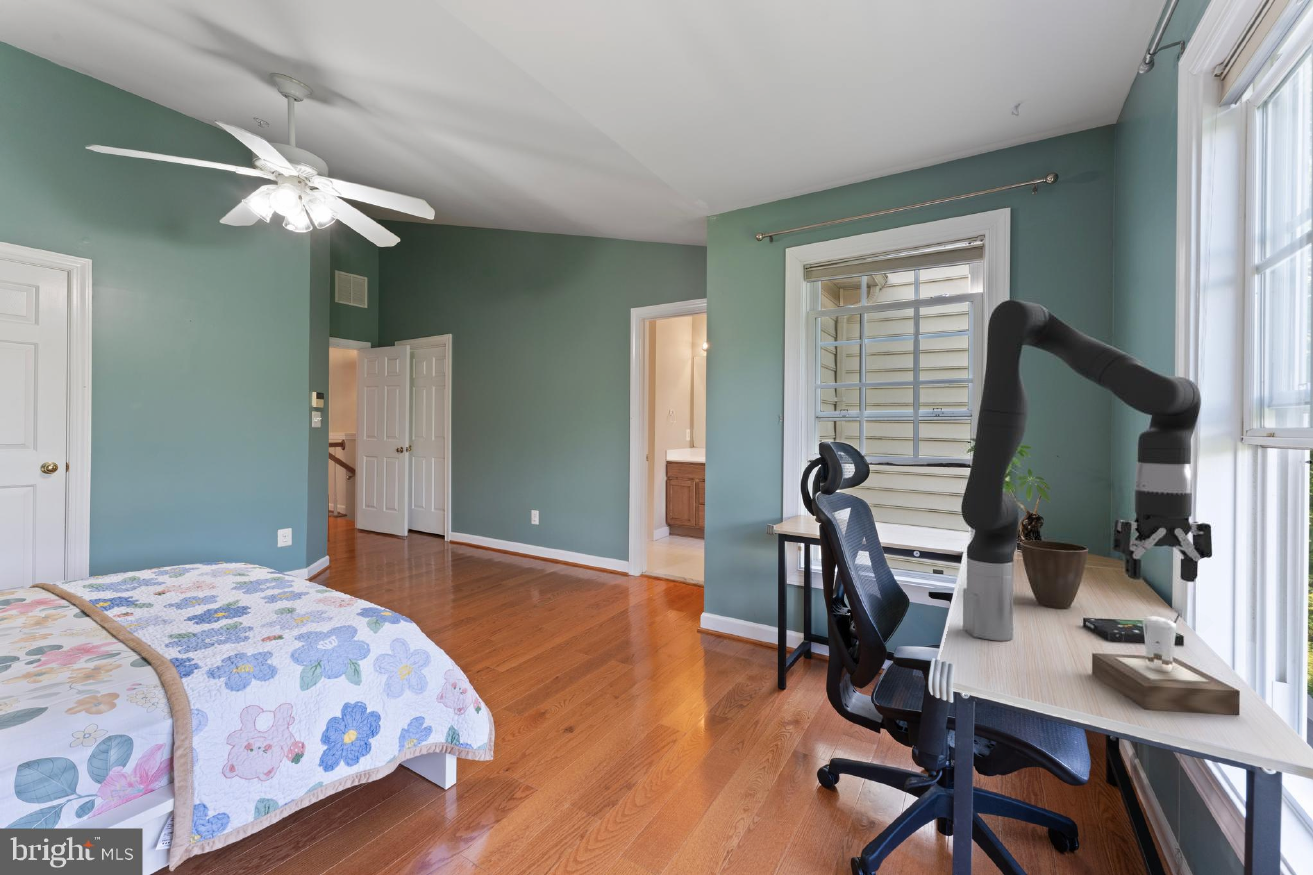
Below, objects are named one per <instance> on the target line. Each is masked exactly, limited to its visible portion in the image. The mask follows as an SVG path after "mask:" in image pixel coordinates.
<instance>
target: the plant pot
mask: <svg viewBox="0 0 1313 875" xmlns="http://www.w3.org/2000/svg"><path fill="white" fill-rule="evenodd" d="M1019 545H1020V551H1021V556H1022V561H1023V566H1024V569H1025V574H1026V577H1027V580H1028V583H1029V586H1030V589H1031V592H1032V593H1033V596H1034V599H1035V600H1036V603H1037V604H1039V605H1040V606H1044V607H1047V608H1053V609H1063V610H1064V609H1070V608H1071V606H1072V604H1073V603H1074V600H1075V598H1076V596H1077V594H1078V591H1079V589H1080V585H1081V582H1082V581H1083V580H1082V579H1083V576H1084V573H1085V569H1086V564H1087V560H1088V552H1089V548H1088V547H1086V546H1084V545H1082V544H1080V545H1079V544H1075V543H1069V542H1061V541H1051V540H1023V541H1020V544H1019Z"/></svg>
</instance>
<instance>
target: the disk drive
mask: <svg viewBox="0 0 1313 875" xmlns="http://www.w3.org/2000/svg"><path fill="white" fill-rule="evenodd" d="M1082 627H1083V628H1085V629H1086V630H1089V631H1090V632H1091V633H1093V634H1095V635H1097V636H1099V637H1100V638H1102V639H1103V640H1106V641H1107V642H1109V643H1124V644H1125V643H1126V644H1140V645H1141V644H1143V645H1145V638H1144V630H1143V619H1142V620H1138V619H1118V618H1117V619H1116V618H1096V617H1082ZM1174 646H1180V647H1184V646H1185V635H1182V634H1181V633H1178V632H1176V636H1175V643H1174Z"/></svg>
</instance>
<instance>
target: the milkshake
mask: <svg viewBox="0 0 1313 875" xmlns="http://www.w3.org/2000/svg"><path fill="white" fill-rule="evenodd" d="M1180 616H1181V613H1178V614H1177V616H1176V618H1175V620H1174V621H1172V620H1170V619H1167V618H1165V617H1161V616H1160V617H1159V616H1156V615H1155V616H1154V615H1152V616H1146V617H1143V619H1142V621H1143V630H1144V638H1145V644H1144V646H1145V647H1144V648H1145V656H1146V662H1147V666H1148V668H1150V669H1153V670H1156V671H1160V672H1171V671H1172V662H1173V657H1174V654H1175V653H1174V652H1175V645H1174V643H1175V636H1176V633H1177V627H1178V626H1177V622H1178V620H1179V618H1180Z"/></svg>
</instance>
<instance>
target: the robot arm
mask: <svg viewBox="0 0 1313 875" xmlns="http://www.w3.org/2000/svg"><path fill="white" fill-rule="evenodd" d="M987 325H988V326H987V336H986V337H987V340H986V341H987V342H986V364H985V372H984V381H983V388H982V396H981V400H980V405H979V411H978V419H977V424H976V432H975V433H976V434H975V441H974V446H973V454H972V461H971V467H970V471H969V475H968V479H967V482H966V484H965V489H964V493H963V496H962V501H961V506H960V508H961V510H960V511H961V512H960V513H961V516H962V519H963V521H964V522H965V524H966V525H967V526H968V528H971V529H973V530H974V534H973V537H972V539H971V541H970V542H969V543H968V545H967V546H966V587H963V590H962V629H964V631H966V632H967V633H968V634H970V636H971V637H972V638H979V639H984V640H991V641H999V642H1001V641H1010V640H1012V639H1013V638H1014V555H1015V552H1016V550H1017V546H1018V541H1019V538H1018V536H1019V519H1020V518H1019V506H1018V503H1017V501H1016V499H1015V498H1014V497H1013V495H1012V494H1010V493H1009V492H1007V491H1005V490H1004V487H1005V480H1006V475H1007V472H1008V470H1009V467H1010V464H1011V463H1012V461H1013V458H1014V457H1015V455H1016V453H1017V451H1018V449H1019V447H1020V446H1021V443H1022V441H1023V439H1024V435H1025V431H1026V426H1027V421H1028V413H1029V400H1028V394H1027V391H1026V388H1025V385H1024V382H1023V378H1022V374H1021V358H1022V357H1021V356H1022V350H1023V346H1029V347H1032V348H1036V349H1039V350H1042V351H1044V352H1048V353H1050V354H1051V355H1054V356H1056V357H1057V358H1059V359H1061V360H1062V361H1063V362H1064V363H1065V364H1066V365H1067V366H1068V367H1070V369H1072V370H1073V371H1074V372H1075V373H1077V374H1078V375H1079V376H1082V377H1083V378H1085V379H1087V380H1089V381H1090V382H1093V383H1094V384H1097V385H1098V386H1100V387H1101V388H1104V389H1105V390H1108V391H1110V392H1111V393H1112V394H1113V395H1115V397H1116V398H1118V399H1119V400H1120V401H1122V402H1123V403H1125V404H1126V405H1127V406H1128V407H1130V408H1132V409H1133V410H1135V411H1138V412H1140V413H1143V414H1145V415H1147V416H1151V417H1150V422H1149V427H1148V428H1147V429H1146V430H1145V431H1143V432H1141V433H1140V434H1139V437H1138V441H1137V464H1136V470H1135V475H1134V476H1135V477H1134V482H1135V483H1134V513H1135V519H1134V521H1131V520H1130V521H1128V520H1123V519H1116V520H1115V521H1114V531H1113V540H1112V542H1113V543H1112V551H1113V552H1115V553H1118V554H1121V555H1123V556H1124V557H1125V558H1124V560H1125V561H1124V562H1125V563H1124V572H1125V575H1127V576H1128V578H1129V579H1133V581H1134V580H1138V581H1140V580H1141V576H1142V575H1141V574H1142V573H1141V572H1142V559H1140V558H1141V557H1142V556H1143V555H1144V553H1146V551H1150V550H1151V549H1152V548H1153V547H1157V548H1158V547H1165V546H1166V547H1171V548H1175V549H1176V550H1177V551H1178V552H1179V554H1180V555H1181V556H1182V557H1183V558H1180V576H1179V577H1180V579H1181V580H1182V581H1184V582H1187V583H1194V582H1195V581H1196V579H1197V578H1198V571H1199V570H1198V567H1199V564H1198V563H1199V561H1200V560H1202V559H1205V558H1207V559H1210V558H1211V557H1212V556H1213V542H1212V525H1211V524H1209V523H1206V522H1200V521H1193V522H1190V517H1192V514H1193V513H1192V511H1193V510H1192V508H1193V506H1192V505H1193V473H1192V466H1191V463H1192V462H1191V461H1192V437H1193V434H1194V432H1195V430H1196V429H1195V428H1196V426H1197V422H1198V418H1199V415H1200V410H1201V407H1202V406H1201V405H1202V397H1201V393H1200V389H1199V386H1198V385H1197V384H1196V383H1195V382H1194V381H1192V380H1191V379H1190V378H1186V377H1183V376H1173V375H1172V376H1171V375H1163V374H1161V373H1157V372H1155V371H1153V370H1151V369H1150V368H1147V367H1145V366H1144V363H1143V362H1142V361H1140V360H1139V359H1138V358H1137V357H1134V356H1133V355H1131V354H1128V353H1126V352H1124V351H1122V350H1120V349H1119V348H1116V347H1114V346H1112V345H1109V344H1108V343H1104V342H1102V341H1100V340H1098V339H1096V338H1093V337H1091V336H1088V335H1087V334H1085V333H1083V332H1082V331H1079V330H1077V329H1076V328H1074V327H1072V326H1071V325H1070V324H1068V323H1066V322H1064V321H1063V320H1062V319H1061V318H1059V317H1058V316H1056V315H1055V314H1054V313H1053V312H1051V311H1050V310H1048V309H1047V308H1045V307H1044V306H1043V305H1041V304H1039V303H1034V302H1029V301H1023V300H1017V299H1008V300H1004V301H1002V302H1001V303H998V305H997V306H996V307H995V308H994V309H993V311H992V313H991V315H990V318H989V320H988V324H987ZM1135 531H1136V534H1135V535H1134V536H1133V537H1132V539H1131V536H1132V533H1134V532H1135ZM1189 534H1192V542H1191V541H1190V540H1189V538H1188V535H1189Z"/></svg>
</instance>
